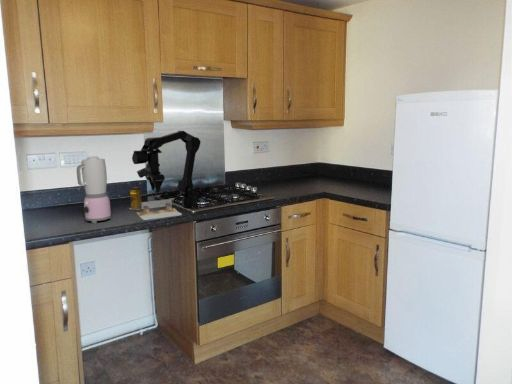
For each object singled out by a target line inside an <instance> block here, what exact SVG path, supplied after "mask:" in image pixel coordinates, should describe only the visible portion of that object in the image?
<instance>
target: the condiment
mask: <svg viewBox="0 0 512 384" xmlns="http://www.w3.org/2000/svg"><path fill="white" fill-rule="evenodd" d="M129 189H130V193H129V197H130V199H129V200H130V207H129V208H128V209H129V210H132V211H134V210H135V211H139V210H142V209H141V203H140V202H143V201H142V192H141V187H140V186H133V187H132V186H131V187H130V188H129Z"/></svg>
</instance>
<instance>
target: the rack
mask: <svg viewBox="0 0 512 384" xmlns="http://www.w3.org/2000/svg"><path fill="white" fill-rule="evenodd" d="M173 211H178V210H177V209H176V208H175V207H172V206H171V204H166V206H164V207H163V208H162V209H155V210H150V208H149V206H147V207H144V209H141V211H137V212H136V215H137V216H138V217H140V216H142V215H150V214H157V213H165V212H173Z"/></svg>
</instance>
